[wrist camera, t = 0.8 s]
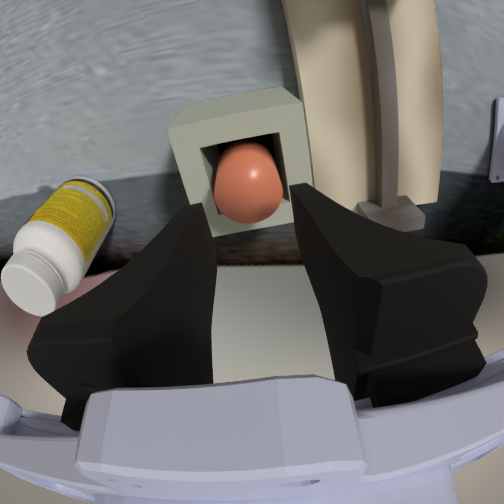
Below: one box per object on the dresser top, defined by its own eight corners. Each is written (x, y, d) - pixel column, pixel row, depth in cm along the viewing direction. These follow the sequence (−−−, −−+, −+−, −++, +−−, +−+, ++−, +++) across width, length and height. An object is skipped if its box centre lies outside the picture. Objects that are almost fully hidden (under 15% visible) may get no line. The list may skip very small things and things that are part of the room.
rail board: (396, -92, 8) (427, -109, 4) (427, 192, 22) (456, 222, 19) (253, -101, 9) (258, -131, 5) (313, 210, 23) (328, 246, 19)
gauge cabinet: (281, 86, 17) (302, 102, 12) (294, 170, 21) (315, 218, 16) (183, 106, 18) (160, 131, 13) (206, 187, 21) (196, 240, 16)
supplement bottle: (62, 165, 19) (-13, 240, 11) (124, 187, 21) (69, 276, 13) (55, 222, 22) (-3, 305, 14) (109, 243, 24) (67, 336, 16)
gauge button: (269, 135, 14) (277, 156, 12) (278, 187, 16) (286, 217, 13) (211, 147, 14) (206, 170, 12) (224, 197, 16) (223, 228, 13)
